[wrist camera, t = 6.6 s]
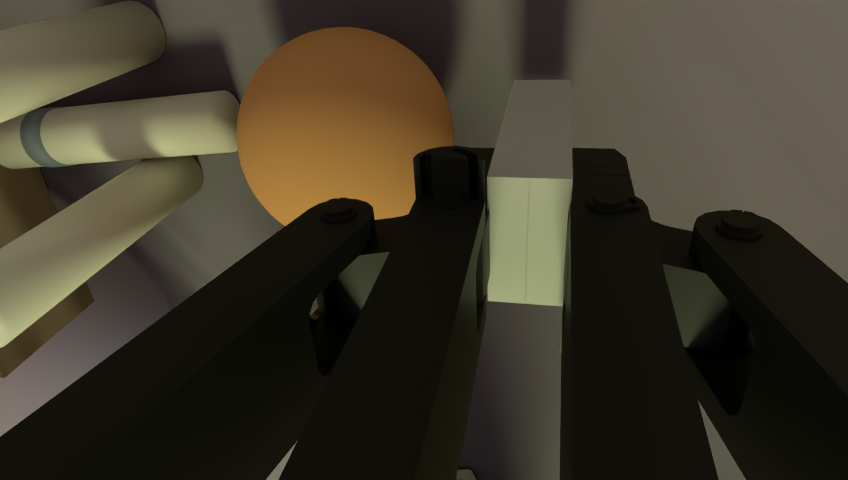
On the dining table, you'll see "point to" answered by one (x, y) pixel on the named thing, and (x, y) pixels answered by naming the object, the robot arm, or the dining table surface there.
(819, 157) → the dining table surface
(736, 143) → the dining table surface
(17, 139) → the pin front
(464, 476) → the coffee box
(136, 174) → the pin
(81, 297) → the back rail
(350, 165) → the ball
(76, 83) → the pin
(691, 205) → the dining table surface
